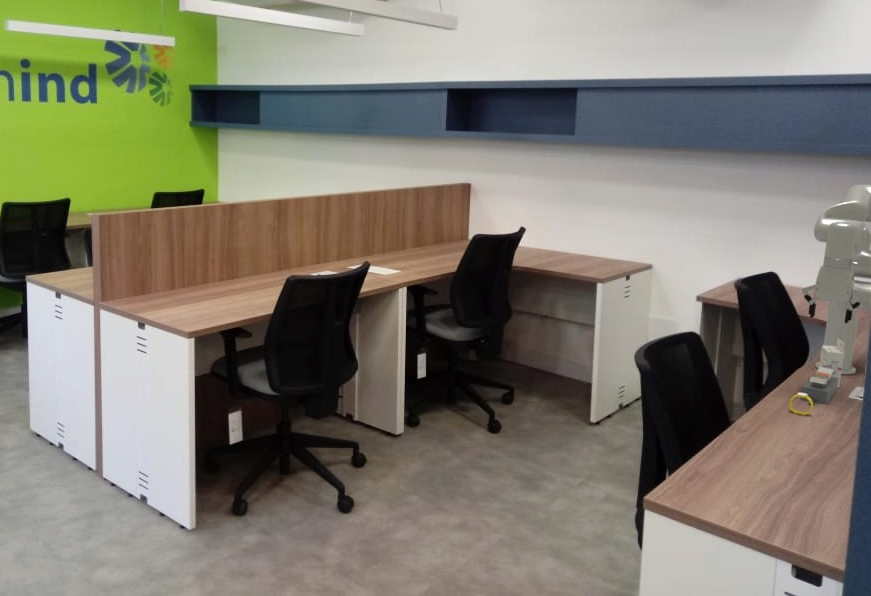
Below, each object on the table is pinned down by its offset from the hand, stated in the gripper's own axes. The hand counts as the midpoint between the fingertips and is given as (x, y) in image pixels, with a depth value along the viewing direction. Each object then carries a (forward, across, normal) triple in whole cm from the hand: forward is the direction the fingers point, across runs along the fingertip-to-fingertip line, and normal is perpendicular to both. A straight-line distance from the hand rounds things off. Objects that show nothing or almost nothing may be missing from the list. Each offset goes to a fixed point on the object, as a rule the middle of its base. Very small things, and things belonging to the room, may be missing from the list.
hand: (829, 319), depth 239 cm
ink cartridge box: (+24, 0, -16) cm, 29 cm away
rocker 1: (+19, 0, -6) cm, 20 cm away
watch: (+24, +1, +22) cm, 32 cm away
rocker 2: (+19, 0, +3) cm, 19 cm away
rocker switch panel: (+24, 0, +1) cm, 24 cm away
